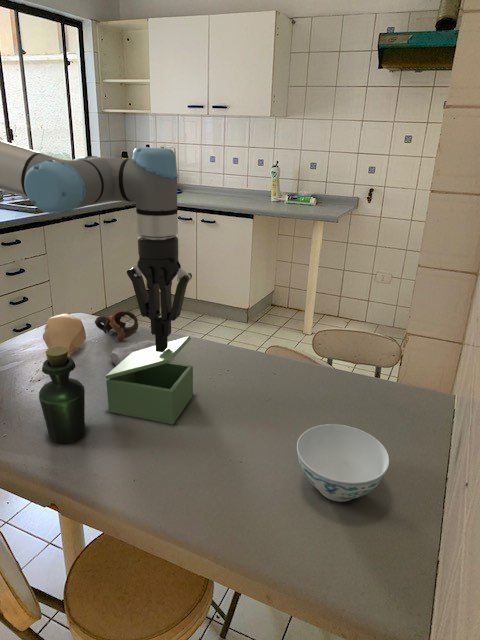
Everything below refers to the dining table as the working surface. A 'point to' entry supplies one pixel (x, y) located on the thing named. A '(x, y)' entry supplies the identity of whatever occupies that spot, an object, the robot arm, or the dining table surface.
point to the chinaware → (341, 460)
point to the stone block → (129, 351)
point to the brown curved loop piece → (117, 324)
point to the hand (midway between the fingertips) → (161, 349)
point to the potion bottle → (62, 398)
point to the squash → (64, 332)
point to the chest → (152, 392)
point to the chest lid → (148, 358)
